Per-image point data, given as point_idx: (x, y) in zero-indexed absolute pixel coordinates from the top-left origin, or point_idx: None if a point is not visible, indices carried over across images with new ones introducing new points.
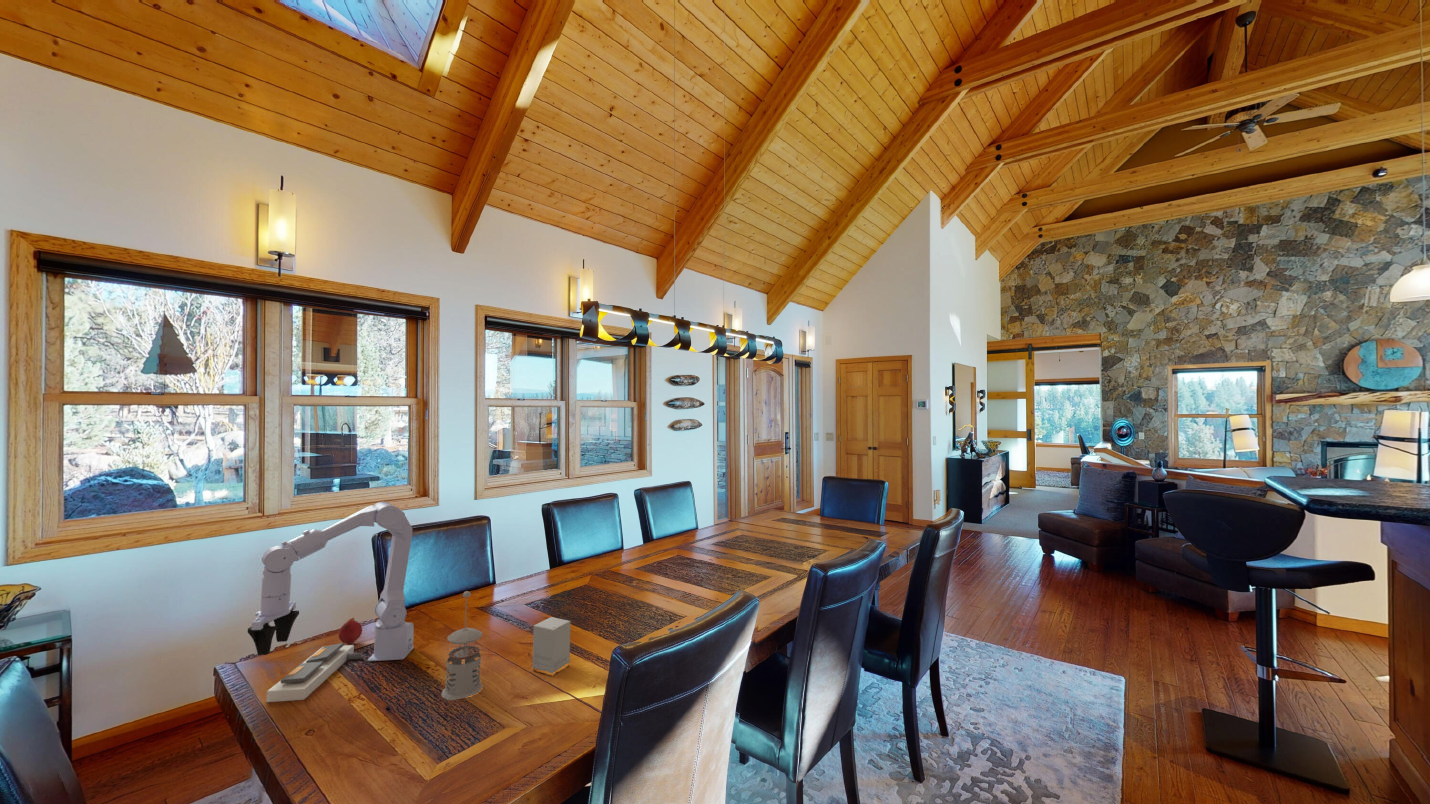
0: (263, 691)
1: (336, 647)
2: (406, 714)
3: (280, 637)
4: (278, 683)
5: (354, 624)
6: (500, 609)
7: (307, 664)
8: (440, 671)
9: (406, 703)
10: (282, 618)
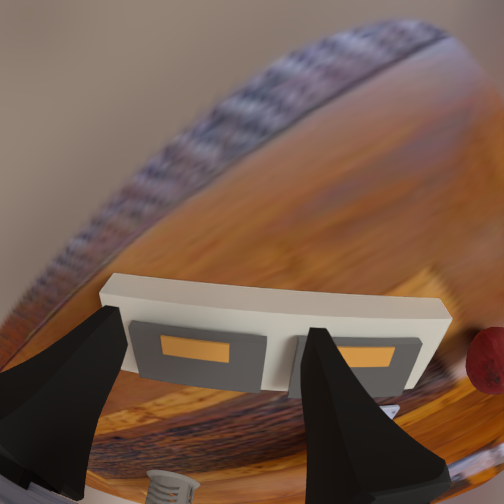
0: (183, 230)
1: (368, 392)
2: (107, 446)
3: (307, 363)
4: (149, 304)
5: (490, 393)
6: (463, 462)
7: (248, 362)
8: (237, 474)
9: (133, 450)
10: (323, 497)
